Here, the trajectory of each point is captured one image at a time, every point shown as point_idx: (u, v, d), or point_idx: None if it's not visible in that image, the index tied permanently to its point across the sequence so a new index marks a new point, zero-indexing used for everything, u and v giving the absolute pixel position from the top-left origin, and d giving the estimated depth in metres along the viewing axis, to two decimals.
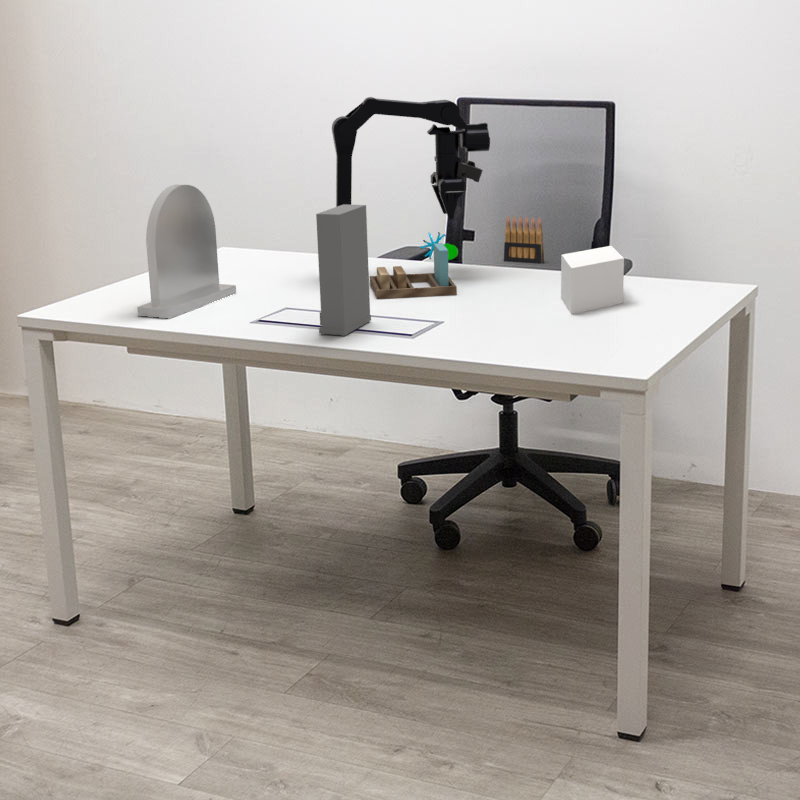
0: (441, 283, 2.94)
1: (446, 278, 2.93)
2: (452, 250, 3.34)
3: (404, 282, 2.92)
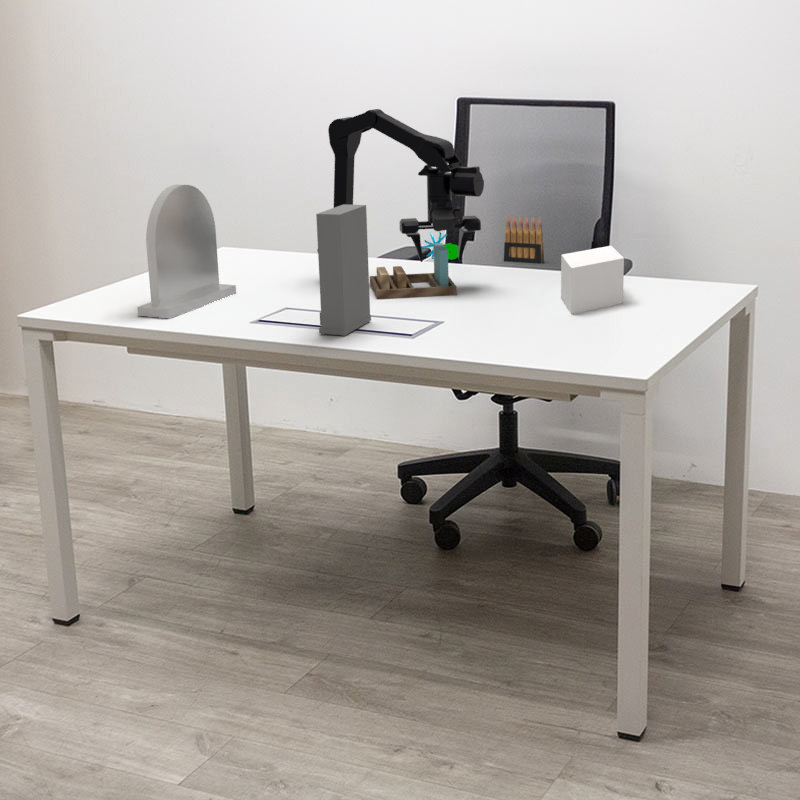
0: (441, 283, 2.94)
1: (446, 278, 2.93)
2: (455, 250, 3.34)
3: (404, 282, 2.92)
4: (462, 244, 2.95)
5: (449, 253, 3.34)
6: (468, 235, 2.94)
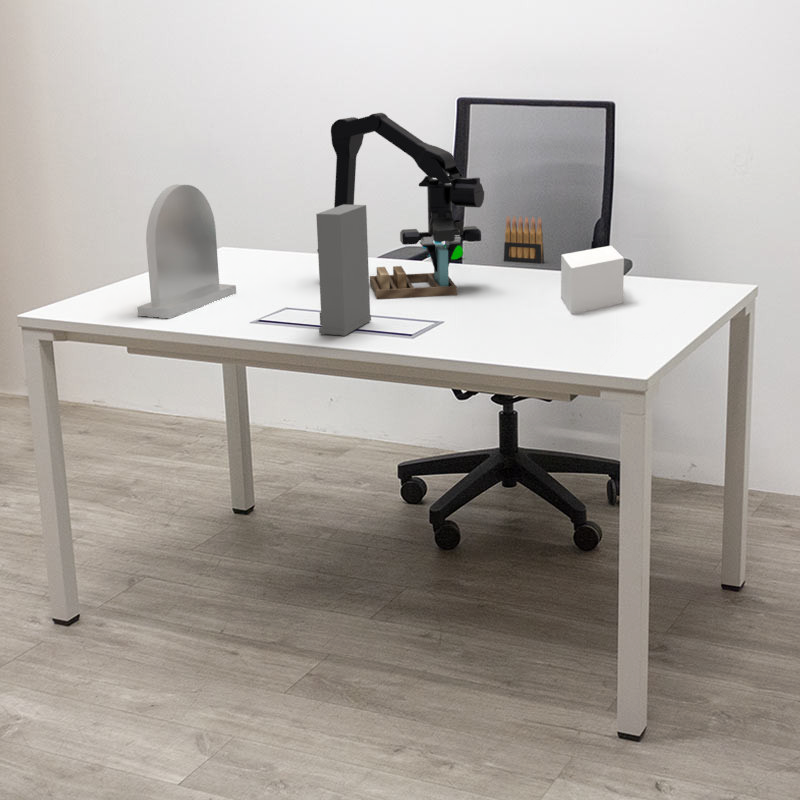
0: (441, 283, 2.93)
1: (446, 278, 2.93)
2: (457, 250, 3.34)
3: (404, 282, 2.92)
4: (448, 255, 2.96)
5: None
6: (454, 246, 2.94)
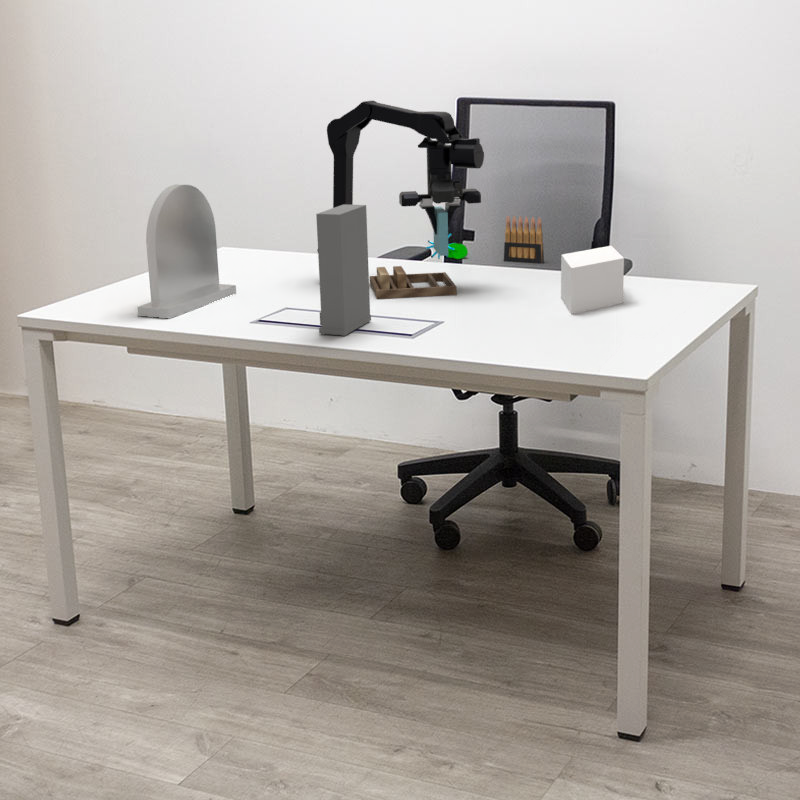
0: (441, 246, 2.91)
1: (445, 241, 2.91)
2: (461, 249, 3.35)
3: (404, 282, 2.92)
4: (448, 218, 2.93)
5: (455, 252, 3.35)
6: (454, 208, 2.91)
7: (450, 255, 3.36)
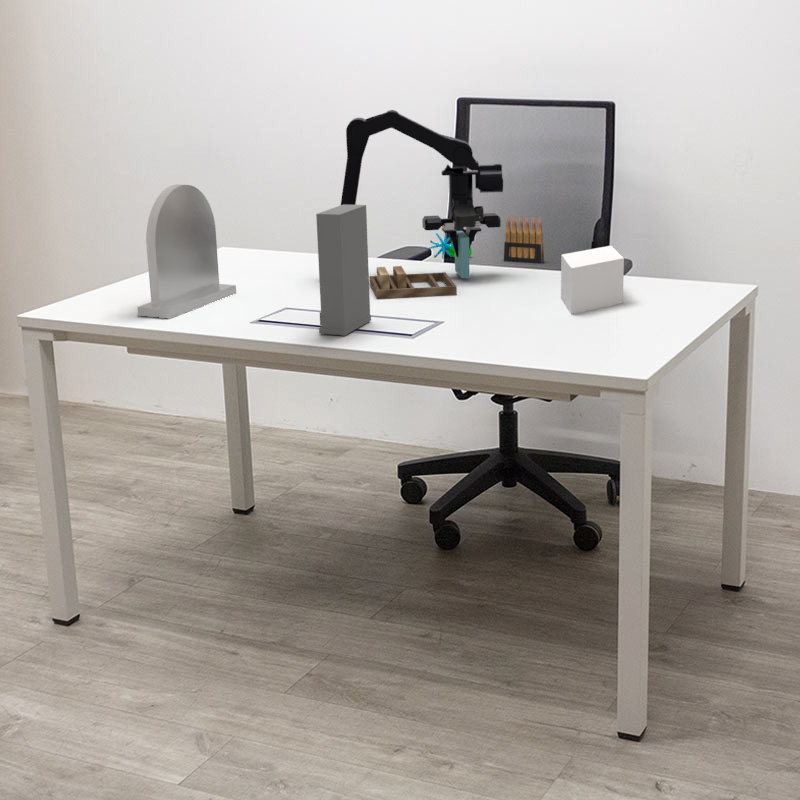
0: (462, 269, 3.05)
1: (467, 264, 3.05)
2: None
3: (404, 282, 2.92)
4: (469, 241, 3.07)
5: None
6: (474, 232, 3.06)
7: (454, 255, 3.36)
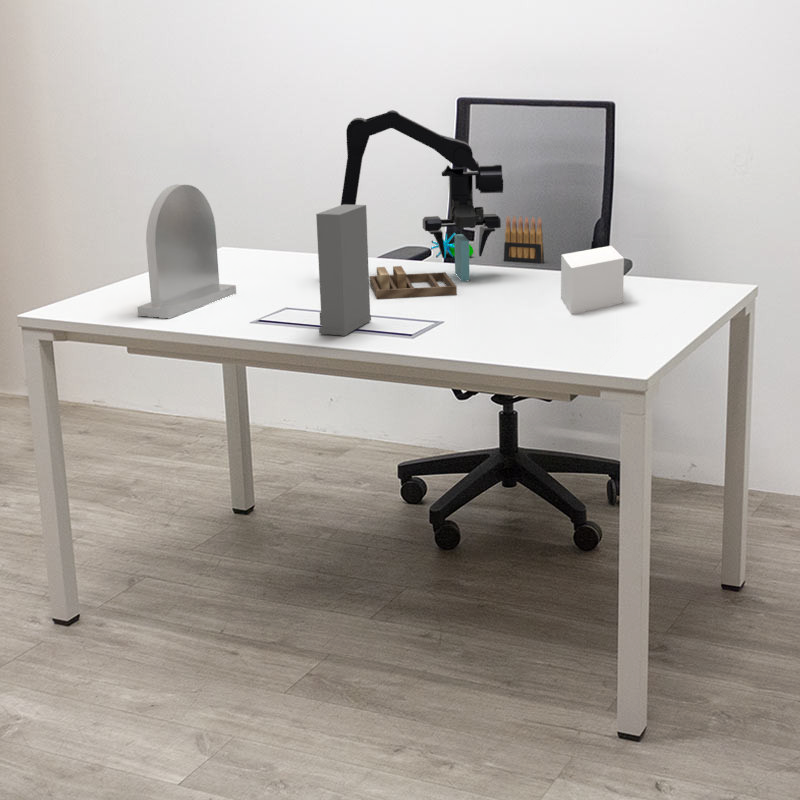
0: (462, 272, 3.05)
1: (467, 267, 3.05)
2: None
3: (404, 282, 2.92)
4: (483, 241, 3.08)
5: None
6: (488, 232, 3.06)
7: None
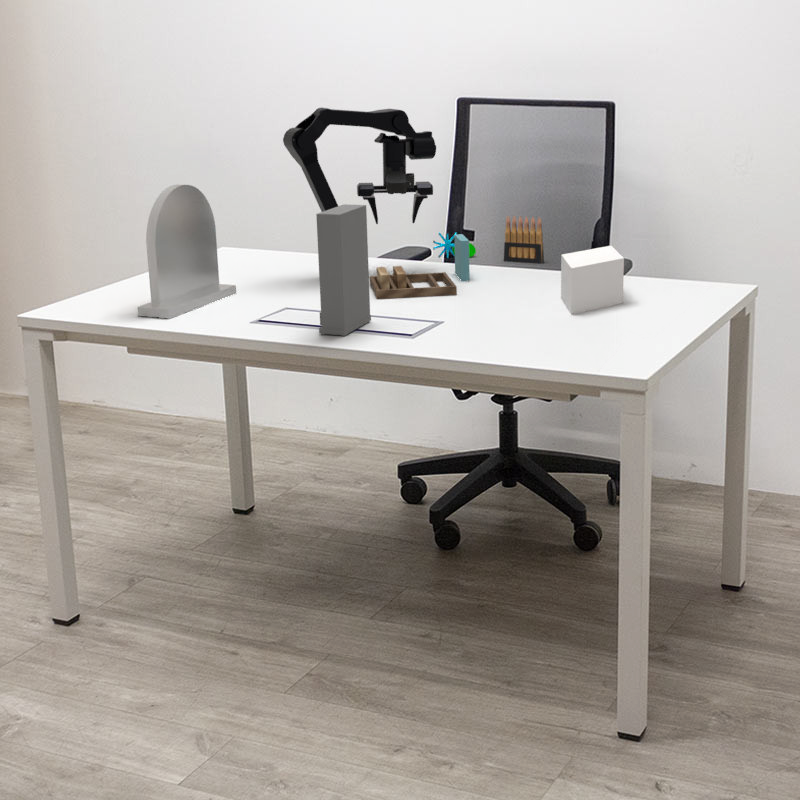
0: (462, 272, 3.05)
1: (467, 267, 3.05)
2: (469, 248, 3.37)
3: (404, 282, 2.92)
4: (415, 208, 3.12)
5: None
6: (421, 199, 3.11)
7: None
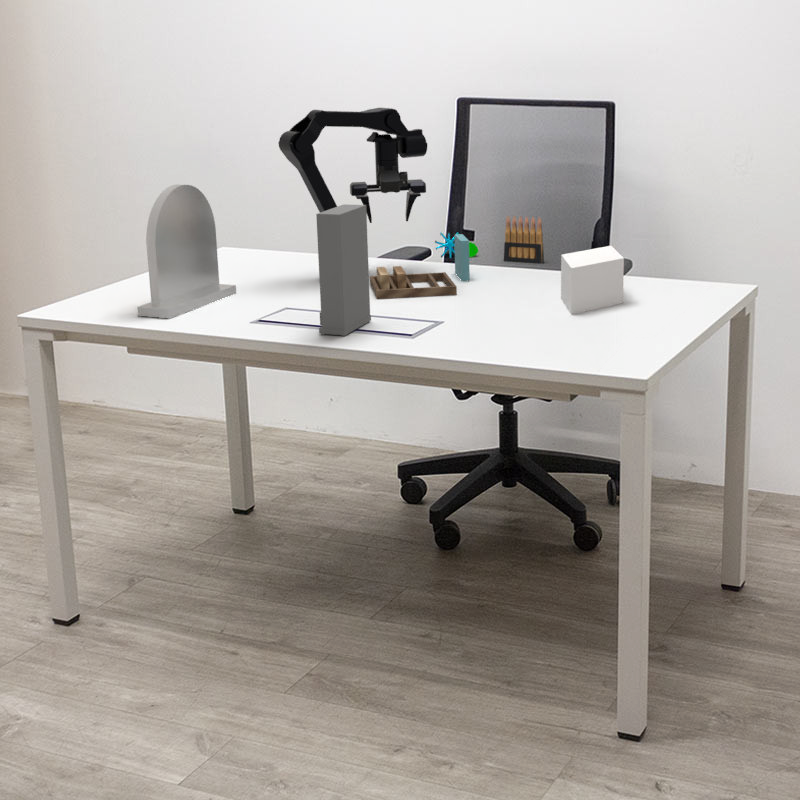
0: (462, 272, 3.05)
1: (467, 267, 3.05)
2: (471, 247, 3.37)
3: (404, 282, 2.92)
4: (409, 206, 3.13)
5: None
6: (414, 197, 3.12)
7: None
